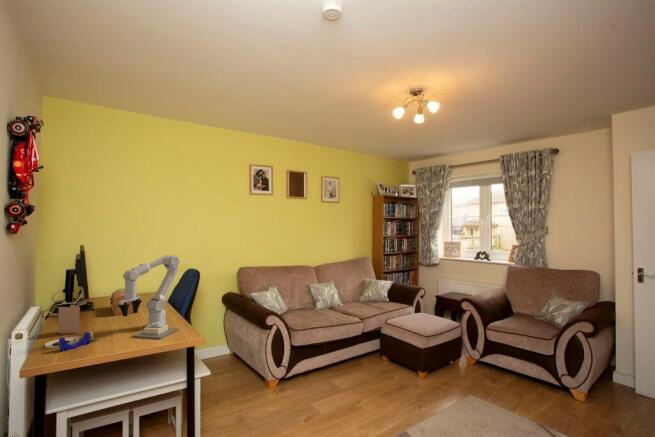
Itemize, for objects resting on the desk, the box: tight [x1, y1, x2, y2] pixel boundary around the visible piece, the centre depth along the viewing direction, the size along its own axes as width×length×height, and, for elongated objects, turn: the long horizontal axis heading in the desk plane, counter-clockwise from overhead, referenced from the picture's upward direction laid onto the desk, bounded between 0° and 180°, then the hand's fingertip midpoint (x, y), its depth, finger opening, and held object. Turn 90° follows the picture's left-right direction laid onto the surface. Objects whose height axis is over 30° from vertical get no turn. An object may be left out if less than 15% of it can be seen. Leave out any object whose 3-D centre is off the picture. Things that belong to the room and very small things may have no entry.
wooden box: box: [110, 287, 139, 317], centre depth 242 cm, size 30×16×14 cm, turn 35°
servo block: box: [146, 322, 166, 328], centre depth 188 cm, size 3×9×6 cm, turn 88°
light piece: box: [44, 331, 94, 349], centre depth 175 cm, size 12×3×20 cm
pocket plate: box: [131, 324, 180, 340], centre depth 188 cm, size 16×18×4 cm
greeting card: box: [58, 304, 81, 334], centre depth 191 cm, size 11×7×15 cm, turn 59°
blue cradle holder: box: [58, 331, 91, 353], centre depth 168 cm, size 12×4×6 cm, turn 143°
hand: (130, 314), depth 190 cm, fingers open, 7 cm apart
